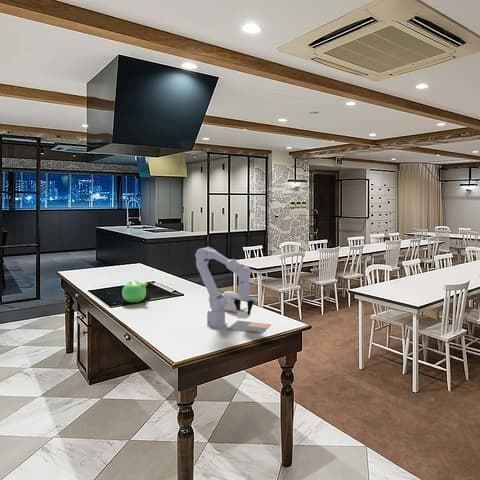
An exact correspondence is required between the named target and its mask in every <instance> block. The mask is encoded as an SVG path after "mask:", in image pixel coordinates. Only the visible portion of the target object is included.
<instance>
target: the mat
mask: <svg viewBox="0 0 480 480" xmlns="http://www.w3.org/2000/svg"><path fill="white" fill-rule="evenodd" d="M271 325H272V324H268V323H262V322H252V321H244V320H236V322H234V323H233V324H231V325H230V326H229V327H227V328H226V330H229V331H235V332H243V333H249V334H257V335H263V333H265V332H266V331H267V330H268V329H269V328H270V326H271ZM268 326H269V327H268Z"/></svg>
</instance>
